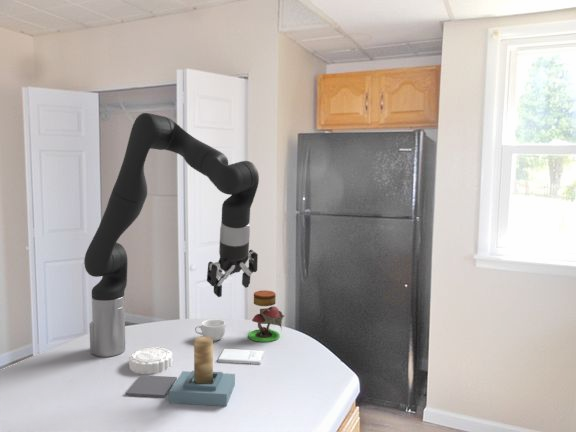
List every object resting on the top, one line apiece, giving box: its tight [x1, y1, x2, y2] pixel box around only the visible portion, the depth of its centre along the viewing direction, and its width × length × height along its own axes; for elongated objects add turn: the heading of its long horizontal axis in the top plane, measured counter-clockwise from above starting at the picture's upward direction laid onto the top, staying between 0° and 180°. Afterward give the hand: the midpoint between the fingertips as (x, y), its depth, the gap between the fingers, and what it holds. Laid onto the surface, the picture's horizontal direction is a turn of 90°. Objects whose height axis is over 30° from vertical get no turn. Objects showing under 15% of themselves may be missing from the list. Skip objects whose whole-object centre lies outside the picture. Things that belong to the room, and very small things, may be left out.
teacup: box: [194, 318, 226, 342], centre depth 155 cm, size 10×8×5 cm
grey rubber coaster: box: [124, 374, 178, 398], centre depth 121 cm, size 10×10×1 cm
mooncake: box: [128, 346, 174, 375], centre depth 134 cm, size 12×12×4 cm
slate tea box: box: [168, 370, 236, 407], centre depth 118 cm, size 14×11×4 cm
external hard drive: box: [218, 348, 265, 365], centre depth 141 cm, size 2×8×12 cm
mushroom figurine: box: [248, 290, 285, 343], centre depth 158 cm, size 12×13×15 cm
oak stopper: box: [193, 336, 214, 384], centre depth 117 cm, size 5×5×11 cm
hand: (231, 290), depth 126 cm, fingers open, 8 cm apart
